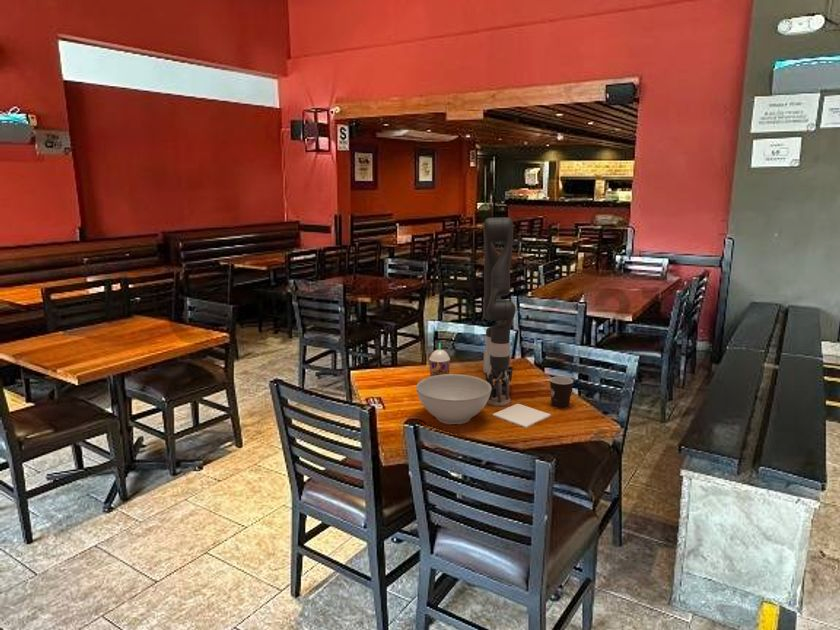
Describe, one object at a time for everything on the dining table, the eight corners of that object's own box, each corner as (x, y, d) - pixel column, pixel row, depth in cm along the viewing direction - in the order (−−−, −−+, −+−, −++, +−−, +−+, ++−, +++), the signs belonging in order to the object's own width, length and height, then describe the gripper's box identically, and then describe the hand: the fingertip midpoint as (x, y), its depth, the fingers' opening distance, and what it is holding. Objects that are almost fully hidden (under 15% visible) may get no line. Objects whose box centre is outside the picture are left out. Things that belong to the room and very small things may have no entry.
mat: (492, 415, 217) (492, 414, 217) (517, 404, 227) (517, 403, 227) (525, 428, 206) (525, 426, 206) (551, 416, 216) (551, 414, 216)
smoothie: (439, 395, 236) (439, 347, 232) (425, 390, 242) (424, 343, 238) (454, 390, 242) (454, 343, 237) (440, 385, 248) (440, 339, 243)
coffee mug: (572, 410, 221) (573, 384, 219) (548, 408, 223) (549, 383, 221) (571, 399, 232) (572, 374, 230) (548, 397, 234) (549, 373, 232)
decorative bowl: (472, 400, 232) (473, 370, 229) (503, 427, 207) (504, 394, 204) (407, 409, 223) (406, 378, 221) (431, 438, 199) (431, 404, 196)
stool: (481, 402, 229) (482, 379, 227) (496, 396, 235) (497, 373, 233) (500, 409, 223) (500, 385, 221) (515, 402, 229) (516, 379, 227)
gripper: (504, 347, 232) (502, 388, 236) (479, 354, 222) (478, 397, 226) (519, 351, 227) (518, 393, 231) (495, 359, 217) (494, 402, 221)
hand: (498, 395), depth 228 cm, fingers closed on stool, 5 cm apart
